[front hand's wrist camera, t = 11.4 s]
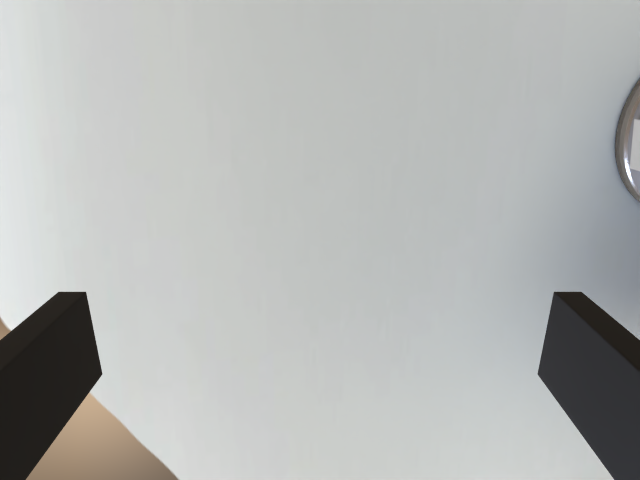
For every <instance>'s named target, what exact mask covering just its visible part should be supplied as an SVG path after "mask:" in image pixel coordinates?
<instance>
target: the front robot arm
mask: <svg viewBox="0 0 640 480" xmlns="http://www.w3.org/2000/svg"><path fill="white" fill-rule="evenodd" d="M615 155H616V162H617V167H618V171H619V174H620V176H621V179H622V181H623V183H624V185H625V186H626V188H627V189H628V191H629V192H630V193H631V194H632V196H633V197H634V198H635V199H636V200H638V201H639V202H640V79H639V81H638V82H637V84H636V85H635V87H634V88H633V90H632V92H631V93H630V95H629V97H628V99H627V101H626V103H625V106H624V108H623V110H622V113H621V116H620V119H619V123H618V127H617V133H616V141H615ZM101 375H102V370H101V365H100V360H99V355H98V350H97V345H96V340H95V335H94V330H93V325H92V320H91V315H90V310H89V305H88V300H87V295H86V292H58V293H57V294H56V295H54V296H53V297H52V298H51V299H50V300H48V301H47V302H46V303H45V304H44V305H42V306H41V307H40V308H39V309H37V310H36V311H35V312H34V313H33V314H31V315H30V316H29V317H28V318H27V319H25V320H24V321H23V322H22V323H21V324H19V325H18V326H17V327H16V328H15V329H13V330H12V331H11V332H10V333H9V334H7V335H6V336H5V337H4V338H3V339H1V340H0V480H26V478H27V477H28V476H29V474H30V473H31V471H32V470H33V469H34V467H35V466H36V465H37V463H38V462H39V460H40V459H41V458H42V456H43V455H44V454H45V452H46V451H47V449H48V448H49V447H50V445H51V444H52V443H53V441H54V440H55V438H56V437H57V436H58V434H59V433H60V432H61V430H62V429H63V427H64V426H65V425H66V423H67V422H68V421H69V419H70V418H71V417H72V415H73V414H74V412H75V411H76V410H77V408H78V407H79V405H80V404H81V403H82V401H83V400H84V399H85V397H86V396H87V394H88V393H89V392H90V390H91V389H92V388H93V386H94V385H95V384H96V382H97V381H98V379H99V378H100V377H101ZM538 375H539V377H540V378H541V379H542V381H543V382H544V384H545V385H546V386H547V388H548V389H549V390H550V392H551V393H552V395H553V396H554V397H555V399H556V400H557V401H558V403H559V404H560V406H561V407H562V408H563V410H564V411H565V412H566V414H567V415H568V417H569V418H570V419H571V421H572V422H573V423H574V425H575V426H576V428H577V429H578V430H579V432H580V433H581V434H582V436H583V437H584V439H585V440H586V441H587V443H588V444H589V445H590V447H591V448H592V449H593V451H594V452H595V454H596V455H597V456H598V458H599V459H600V460H601V462H602V463H603V465H604V466H605V467H606V469H607V470H608V471H609V473H610V474H611V476H612V477H613V478H614V480H640V340H639V339H637V338H636V337H635V336H634V335H633V334H631V333H630V332H629V331H628V330H627V329H625V328H624V327H623V326H622V325H621V324H619V323H618V322H617V321H616V320H615V319H613V318H612V317H611V316H610V315H609V314H607V313H606V312H605V311H604V310H603V309H601V308H600V307H599V306H598V305H596V304H595V303H594V302H593V301H592V300H590V299H589V298H588V297H587V296H586V295H584V294H583V293H582V292H554V295H553V300H552V305H551V310H550V315H549V320H548V325H547V330H546V335H545V340H544V345H543V350H542V355H541V360H540V365H539V370H538Z"/></svg>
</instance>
